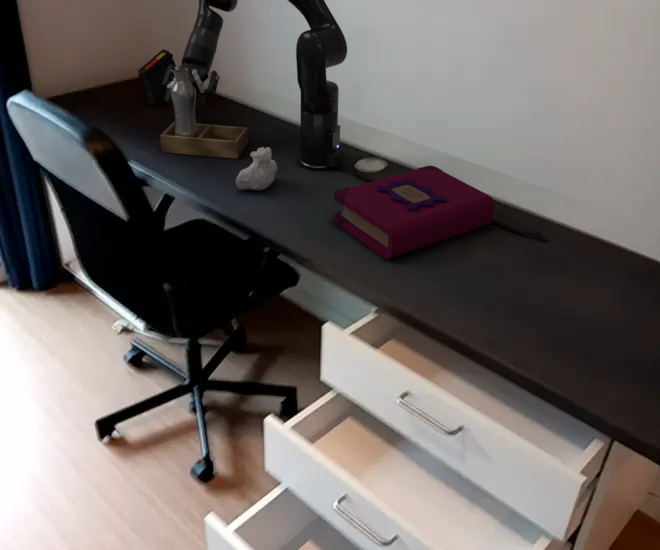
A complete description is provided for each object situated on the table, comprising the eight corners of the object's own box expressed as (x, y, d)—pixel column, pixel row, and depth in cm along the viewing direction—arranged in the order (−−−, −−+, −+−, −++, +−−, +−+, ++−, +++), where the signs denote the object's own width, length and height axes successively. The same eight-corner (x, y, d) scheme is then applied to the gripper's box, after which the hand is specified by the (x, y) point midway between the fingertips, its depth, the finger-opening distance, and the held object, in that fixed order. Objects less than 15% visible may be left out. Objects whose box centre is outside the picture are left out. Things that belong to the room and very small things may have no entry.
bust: (241, 203, 167) (260, 177, 158) (223, 177, 168) (241, 150, 159) (278, 188, 175) (298, 162, 166) (260, 163, 176) (279, 136, 167)
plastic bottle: (170, 149, 188) (163, 73, 178) (182, 140, 194) (175, 66, 183) (193, 152, 187) (186, 76, 176) (204, 143, 192) (198, 68, 182)
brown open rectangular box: (248, 143, 193) (247, 127, 190) (237, 158, 184) (237, 142, 181) (175, 137, 195) (173, 121, 193) (161, 152, 186) (159, 135, 184)
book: (491, 227, 155) (497, 196, 151) (390, 263, 142) (392, 229, 138) (428, 191, 170) (431, 162, 166) (330, 220, 156) (331, 188, 152)
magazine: (191, 90, 224) (170, 50, 213) (162, 117, 219) (139, 78, 208) (184, 88, 226) (163, 48, 215) (154, 114, 222) (131, 75, 210)
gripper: (170, 38, 185) (151, 95, 182) (220, 44, 181) (202, 102, 178) (182, 54, 192) (164, 109, 189) (230, 60, 188) (213, 116, 185)
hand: (182, 106), depth 184 cm, fingers open, 8 cm apart
